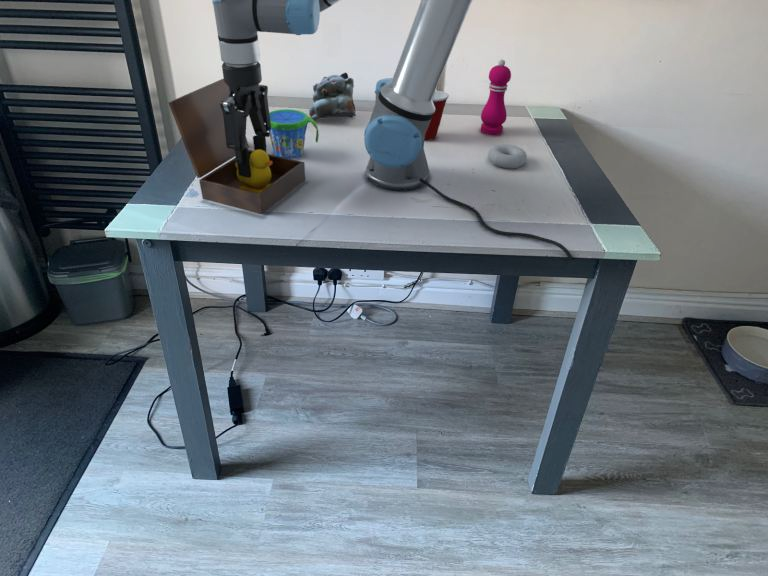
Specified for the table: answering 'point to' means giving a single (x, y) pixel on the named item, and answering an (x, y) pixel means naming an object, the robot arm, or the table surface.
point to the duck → (257, 172)
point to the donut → (507, 156)
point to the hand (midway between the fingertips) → (253, 169)
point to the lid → (204, 126)
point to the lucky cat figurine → (333, 97)
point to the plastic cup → (436, 114)
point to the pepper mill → (496, 100)
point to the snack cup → (289, 132)
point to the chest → (227, 191)
